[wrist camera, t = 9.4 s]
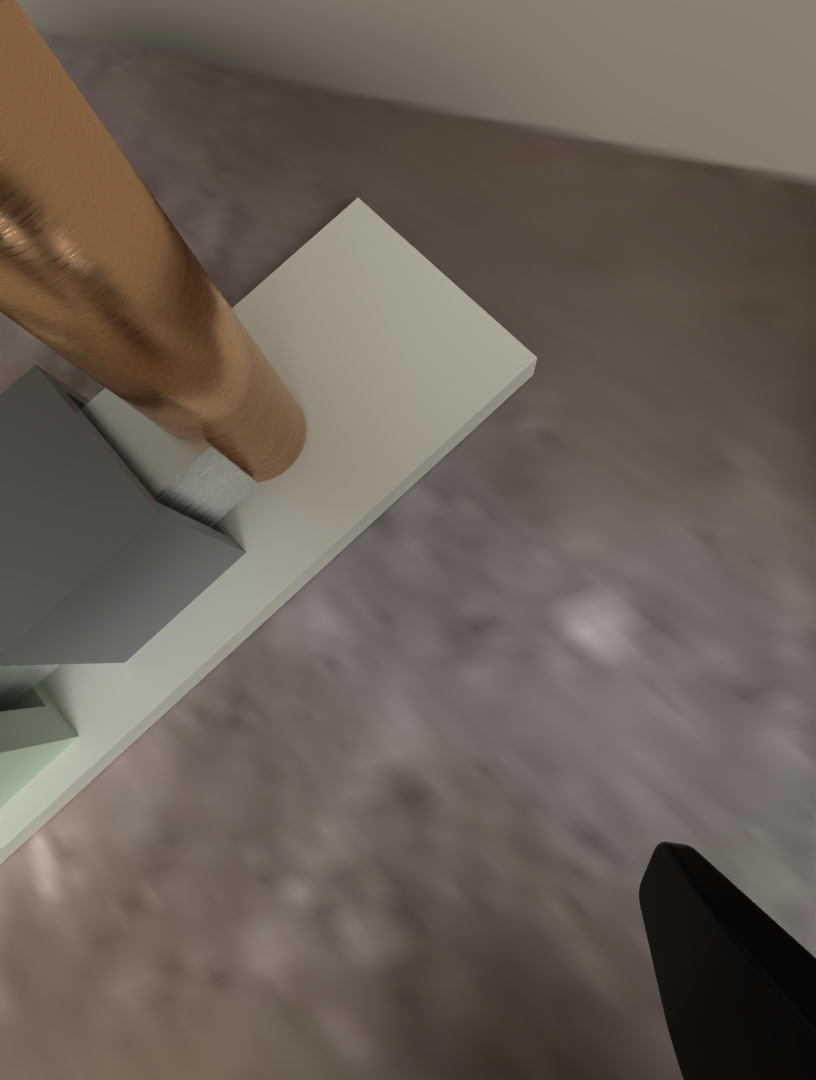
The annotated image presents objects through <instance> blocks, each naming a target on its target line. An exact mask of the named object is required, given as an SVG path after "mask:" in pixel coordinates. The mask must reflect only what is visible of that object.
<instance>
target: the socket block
mask: <svg viewBox="0 0 816 1080" xmlns="http://www.w3.org/2000/svg"><path fill="white" fill-rule="evenodd" d="M78 737H79V736H78V734H77V733H76V731H75V730H74V729H73V727H72V726H71V724H70V723H69V721H68V720H67V719H66V717H65V716H64V714H63V713H62V711H61V710H60V709H59V707H58V706H57V704H56V703H55V701H54V700H53V699H52V697H51V696H50V694H49V693H48V692H47V690H46V689H45V687H44V686H43V684H42V683H41V682H39V683H38V684H37V685H36V686H35V687H33V688H32V689H31V690H30V691H29V692H28V693H27V694H26V695H25V696H23V697H22V698H21V699H20V700H19V701H18V702H17V703H16V704H15V705H13V706H12V707H11V708H10V709H9V710H8V711H1V712H0V808H2V807H3V806H4V805H5V804H6V803H7V802H8V801H9V800H10V799H11V798H12V797H14V796H15V795H16V794H17V793H18V792H19V791H20V790H21V789H22V788H23V787H25V786H26V785H27V784H28V783H29V782H30V781H31V780H32V779H33V778H34V777H35V776H37V775H38V774H39V773H40V772H41V771H42V770H43V769H44V768H45V767H46V766H48V765H49V764H50V763H51V762H52V761H53V760H54V759H55V758H56V757H57V756H58V755H60V754H61V753H62V752H63V751H64V750H65V749H66V748H67V747H68V746H69V745H71V744H72V743H73V742H74V741H75V740H76V739H77V738H78Z"/></svg>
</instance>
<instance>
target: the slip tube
mask: <svg viewBox="0 0 816 1080" xmlns="http://www.w3.org/2000/svg"><path fill="white" fill-rule="evenodd" d="M0 312H2V313H3V314H4V315H6V316H7V317H9V318H10V319H11V320H13V321H14V322H15V323H17V324H18V325H20V326H21V327H22V328H24V329H25V330H27V331H28V332H29V333H31V334H32V335H33V336H35V337H36V338H38V339H39V340H40V341H42V342H43V343H44V344H46V345H47V346H49V347H50V348H51V349H53V350H54V351H56V352H57V353H58V354H60V355H61V356H62V357H64V358H65V359H67V360H68V361H69V362H71V363H72V364H74V365H75V366H76V367H78V368H79V369H80V370H82V371H83V372H85V373H86V374H87V375H89V376H90V377H91V378H93V379H94V380H96V381H97V382H98V383H100V384H101V385H103V386H104V387H105V388H104V389H103V390H102V391H101V392H100V393H99V394H97V395H96V396H95V397H94V398H93V399H92V400H91V401H89V402H88V403H87V404H86V405H85V406H84V407H83V408H81V409H80V410H81V411H82V412H83V414H84V415H85V416H86V417H87V418H88V420H89V421H90V422H91V423H92V424H93V426H94V427H95V428H96V429H97V430H98V432H99V433H100V434H101V435H102V436H103V438H104V439H105V440H106V441H107V442H108V444H109V445H110V446H111V447H112V448H113V450H114V451H115V452H116V453H117V454H118V456H119V457H120V458H121V459H122V460H123V462H124V463H125V464H126V465H127V466H128V468H129V469H130V470H131V471H132V472H133V474H134V475H135V476H136V477H137V479H138V480H139V481H140V482H141V483H142V485H143V486H144V487H145V488H146V489H147V491H148V492H149V493H150V494H151V495H152V497H153V498H154V499H155V500H156V501H157V502H158V503H160V504H162V505H164V506H166V507H168V508H170V509H172V510H175V511H177V512H179V513H181V514H183V515H185V516H187V517H189V518H191V519H193V520H195V521H197V522H200V523H202V524H204V525H206V526H208V527H210V528H211V527H212V526H213V525H214V524H215V523H216V522H217V521H218V520H219V519H221V518H222V517H223V516H224V515H225V514H226V513H227V512H228V511H229V510H231V509H232V508H233V507H234V506H235V505H236V504H237V503H238V502H239V501H241V500H242V499H243V498H244V497H245V496H246V495H247V494H248V493H249V492H250V491H252V490H253V489H254V488H255V487H256V486H257V485H258V484H259V483H258V482H263V481H267V480H270V479H273V478H275V477H277V476H279V475H280V474H282V473H283V472H285V471H286V470H287V469H288V468H289V467H290V466H291V465H292V464H293V463H294V462H295V461H296V459H297V458H298V456H299V455H300V453H301V451H302V449H303V446H304V443H305V439H306V420H305V416H304V413H303V411H302V409H301V407H300V405H299V404H298V402H297V401H296V399H295V398H294V397H293V395H292V394H291V392H290V391H289V389H288V388H287V387H286V385H285V384H284V382H283V381H282V379H281V378H280V377H279V375H278V374H277V372H276V371H275V369H274V368H273V367H272V365H271V364H270V362H269V361H268V359H267V358H266V357H265V355H264V354H263V352H262V351H261V349H260V348H259V347H258V345H257V344H256V342H255V341H254V340H253V338H252V337H251V335H250V334H249V332H248V331H247V330H246V328H245V327H244V325H243V324H242V322H241V321H240V320H239V318H238V317H237V315H236V314H235V312H234V311H233V310H232V308H231V307H230V305H229V304H228V302H227V301H226V300H225V298H224V297H223V295H222V294H221V292H220V291H219V290H218V288H217V287H216V285H215V284H214V282H213V281H212V280H211V278H210V277H209V275H208V274H207V272H206V271H205V270H204V268H203V267H202V265H201V264H200V262H199V261H198V260H197V258H196V257H195V255H194V254H193V252H192V251H191V250H190V248H189V247H188V245H187V244H186V243H185V241H184V240H183V238H182V237H181V235H180V234H179V233H178V231H177V230H176V228H175V227H174V225H173V224H172V223H171V221H170V220H169V218H168V217H167V215H166V214H165V213H164V211H163V210H162V208H161V207H160V205H159V204H158V203H157V201H156V200H155V198H154V197H153V195H152V194H151V193H150V191H149V190H148V188H147V187H146V185H145V184H144V183H143V181H142V180H141V178H140V177H139V175H138V174H137V173H136V171H135V170H134V168H133V167H132V165H131V164H130V163H129V161H128V160H127V158H126V157H125V156H124V154H123V153H122V151H121V150H120V148H119V147H118V146H117V144H116V143H115V141H114V140H113V138H112V137H111V136H110V134H109V133H108V131H107V130H106V128H105V127H104V126H103V124H102V123H101V121H100V120H99V118H98V117H97V116H96V114H95V113H94V111H93V110H92V108H91V107H90V106H89V104H88V103H87V101H86V100H85V98H84V97H83V96H82V94H81V93H80V91H79V90H78V88H77V87H76V86H75V84H74V83H73V81H72V80H71V78H70V77H69V76H68V74H67V73H66V71H65V70H64V68H63V67H62V66H61V64H60V63H59V61H58V60H57V59H56V57H55V56H54V54H53V53H52V51H51V50H50V49H49V47H48V46H47V44H46V43H45V41H44V40H43V39H42V37H41V36H40V34H39V33H38V31H37V30H36V29H35V27H34V26H33V24H32V23H31V21H30V20H29V19H28V17H27V16H26V14H25V13H24V12H23V10H22V9H21V7H20V6H19V4H18V3H17V1H16V0H0ZM58 665H59V664H53V665H10V666H0V712H1V711H8V710H9V709H10V708H11V707H12V706H13V705H15V704H16V703H17V702H18V701H19V700H20V699H21V698H22V697H23V696H25V695H26V694H27V693H28V692H29V691H30V690H31V689H32V688H33V687H35V686H36V685H37V684H38V683H39V682H40V681H41V680H42V679H43V678H45V677H46V676H47V675H48V674H49V673H50V672H51V671H52V670H53V669H54V668H56V667H57V666H58Z"/></svg>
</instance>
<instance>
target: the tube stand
mask: <svg viewBox="0 0 816 1080" xmlns="http://www.w3.org/2000/svg"><path fill="white" fill-rule="evenodd" d="M232 310H233V311H234V312H235V314H236V315H237V317H238V318H239V320H240V321H241V322H242V324H243V325H244V327H245V328H246V330H247V331H248V332H249V334H250V335H251V337H252V338H253V340H254V341H255V342H256V344H257V345H258V347H259V348H260V349H261V351H262V352H263V354H264V355H265V357H266V358H267V359H268V361H269V362H270V364H271V365H272V367H273V368H274V369H275V371H276V372H277V374H278V375H279V377H280V378H281V379H282V381H283V382H284V384H285V385H286V387H287V388H288V389H289V391H290V392H291V394H292V395H293V397H294V398H295V399H296V401H297V402H298V404H299V405H300V407H301V409H302V411H303V413H304V416H305V420H306V439H305V443H304V446H303V449H302V451H301V453H300V455H299V456H298V458H297V459H296V461H295V462H294V463H293V464H292V465H291V466H290V467H289V468H288V469H287V470H286V471H285V472H283V473H282V474H280V475H279V476H277V477H275V478H273V479H270V480H267V481H263V482H258V483H259V484H258V485H257V486H256V487H255V488H254V489H253V490H252V491H250V492H249V493H248V494H247V495H246V496H245V497H244V498H243V499H242V500H241V501H239V502H238V503H237V504H236V505H235V506H234V507H233V508H232V509H231V510H229V511H228V512H227V513H226V514H225V515H224V516H223V517H222V518H221V519H219V520H218V521H217V522H216V523H215V524H214V525H213V526H212V527H211V528H210V527H208V526H206V525H204V524H202V523H200V522H197V521H195V520H193V519H191V518H189V517H187V516H185V515H183V514H181V513H179V512H177V511H175V510H172V509H170V508H168V507H166V506H164V505H162V504H160V503H158V502H157V501H156V500H155V499H154V498H153V497H152V495H151V494H150V493H149V492H148V491H147V489H146V488H145V487H144V486H143V485H142V483H141V482H140V481H139V480H138V479H137V477H136V476H135V475H134V474H133V472H132V471H131V470H130V469H129V468H128V466H127V465H126V464H125V463H124V462H123V460H122V459H121V458H120V457H119V456H118V454H117V453H116V452H115V451H114V450H113V448H112V447H111V446H110V445H109V444H108V442H107V441H106V440H105V439H104V438H103V436H102V435H101V434H100V433H99V432H98V430H97V429H96V428H95V427H94V426H93V424H92V423H91V422H90V421H89V420H88V418H87V417H86V416H85V415H84V414H83V412H82V411H81V410H80V409H81V408H83V407H84V406H85V405H86V404H87V403H88V402H89V400H88V399H86V398H85V397H83V396H82V395H80V394H79V393H77V392H76V391H74V390H73V389H71V388H70V387H68V386H67V385H65V384H64V383H62V382H61V381H59V380H58V379H56V378H55V377H53V376H52V375H50V374H48V373H47V372H45V371H44V370H42V369H41V368H39V367H38V366H36V365H35V366H34V367H33V368H32V369H30V370H29V371H28V372H27V373H26V374H25V375H24V376H22V377H21V378H20V379H19V380H18V381H17V382H15V383H14V384H13V385H12V386H11V387H10V388H9V389H7V390H6V391H5V392H4V393H3V394H2V395H0V666H10V665H53V664H59V665H58V666H57V667H56V668H54V669H53V670H52V671H51V672H50V673H49V674H48V675H47V676H46V677H45V678H43V679H42V680H41V681H40V682H41V683H42V684H43V686H44V687H45V689H46V690H47V692H48V693H49V694H50V696H51V697H52V699H53V700H54V701H55V703H56V704H57V706H58V707H59V709H60V710H61V711H62V713H63V714H64V716H65V717H66V719H67V720H68V721H69V723H70V724H71V726H72V727H73V729H74V730H75V731H76V733H77V734H78V736H79V737H78V738H77V739H76V740H75V741H74V742H73V743H72V744H71V745H69V746H68V747H67V748H66V749H65V750H64V751H63V752H62V753H61V754H60V755H58V756H57V757H56V758H55V759H54V760H53V761H52V762H51V763H50V764H49V765H48V766H46V767H45V768H44V769H43V770H42V771H41V772H40V773H39V774H38V775H37V776H35V777H34V778H33V779H32V780H31V781H30V782H29V783H28V784H27V785H26V786H25V787H23V788H22V789H21V790H20V791H19V792H18V793H17V794H16V795H15V796H14V797H12V798H11V799H10V800H9V801H8V802H7V803H6V804H5V805H4V806H3V807H2V808H0V865H1V864H2V863H3V862H4V861H5V860H6V859H7V858H8V857H9V856H11V855H12V854H13V853H14V852H15V851H16V850H17V849H18V848H19V847H20V846H21V845H23V844H24V843H25V842H26V841H27V840H28V839H29V838H30V837H31V836H32V835H33V834H34V833H36V832H37V831H38V830H39V829H40V828H41V827H42V826H43V825H44V824H45V823H46V822H48V821H49V820H50V819H51V818H52V817H53V816H54V815H55V814H56V813H57V812H58V811H60V810H61V809H62V808H63V807H64V806H65V805H66V804H67V803H68V802H69V801H70V800H71V799H73V798H74V797H75V796H76V795H77V794H78V793H79V792H80V791H81V790H82V789H83V788H85V787H86V786H87V785H88V784H89V783H90V782H91V781H92V780H93V779H94V778H95V777H96V776H98V775H99V774H100V773H101V772H102V771H103V770H104V769H105V768H106V767H107V766H108V765H110V764H111V763H112V762H113V761H114V760H115V759H116V758H117V757H118V756H119V755H120V754H122V753H123V752H124V751H125V750H126V749H127V748H128V747H129V746H130V745H131V744H132V743H133V742H135V741H136V740H137V739H138V738H139V737H140V736H141V735H142V734H143V733H144V732H145V731H147V730H148V729H149V728H150V727H151V726H152V725H153V724H154V723H155V722H156V721H157V720H158V719H160V718H161V717H162V716H163V715H164V714H165V713H166V712H167V711H168V710H169V709H170V708H172V707H173V706H174V705H175V704H176V703H177V702H178V701H179V700H180V699H181V698H182V697H184V696H185V695H186V694H187V693H188V692H189V691H190V690H191V689H192V688H193V687H194V686H195V685H197V684H198V683H199V682H200V681H201V680H202V679H203V678H204V677H205V676H206V675H207V674H209V673H210V672H211V671H212V670H213V669H214V668H215V667H216V666H217V665H218V664H219V663H220V662H222V661H223V660H224V659H225V658H226V657H227V656H228V655H229V654H230V653H231V652H232V651H234V650H235V649H236V648H237V647H238V646H239V645H240V644H241V643H242V642H243V641H244V640H246V639H247V638H248V637H249V636H250V635H251V634H252V633H253V632H254V631H255V630H256V629H257V628H259V627H260V626H261V625H262V624H263V623H264V622H265V621H266V620H267V619H268V618H269V617H271V616H272V615H273V614H274V613H275V612H276V611H277V610H278V609H279V608H280V607H281V606H282V605H284V604H285V603H286V602H287V601H288V600H289V599H290V598H291V597H292V596H293V595H294V594H296V593H297V592H298V591H299V590H300V589H301V588H302V587H303V586H304V585H305V584H306V583H308V582H309V581H310V580H311V579H312V578H313V577H314V576H315V575H316V574H317V573H318V572H319V571H321V570H322V569H323V568H324V567H325V566H326V565H327V564H328V563H329V562H330V561H331V560H333V559H334V558H335V557H336V556H337V555H338V554H339V553H340V552H341V551H342V550H343V549H344V548H346V547H347V546H348V545H349V544H350V543H351V542H352V541H353V540H354V539H355V538H356V537H358V536H359V535H360V534H361V533H362V532H363V531H364V530H365V529H366V528H367V527H368V526H370V525H371V524H372V523H373V522H374V521H375V520H376V519H377V518H378V517H379V516H380V515H381V514H383V513H384V512H385V511H386V510H387V509H388V508H389V507H390V506H391V505H392V504H393V503H395V502H396V501H397V500H398V499H399V498H400V497H401V496H402V495H403V494H404V493H405V492H406V491H408V490H409V489H410V488H411V487H412V486H413V485H414V484H415V483H416V482H417V481H418V480H420V479H421V478H422V477H423V476H424V475H425V474H426V473H427V472H428V471H429V470H430V469H432V468H433V467H434V466H435V465H436V464H437V463H438V462H439V461H440V460H441V459H442V458H443V457H445V456H446V455H447V454H448V453H449V452H450V451H451V450H452V449H453V448H454V447H455V446H457V445H458V444H459V443H460V442H461V441H462V440H463V439H464V438H465V437H466V436H467V435H468V434H470V433H471V432H472V431H473V430H474V429H475V428H476V427H477V426H478V425H479V424H480V423H482V422H483V421H484V420H485V419H486V418H487V417H488V416H489V415H490V414H491V413H492V412H494V411H495V410H496V409H497V408H498V407H499V406H500V405H501V404H502V403H503V402H504V401H505V400H507V399H508V398H509V397H510V396H511V395H512V394H513V393H514V392H515V391H516V390H517V389H519V388H520V387H521V386H522V385H523V384H524V383H525V382H526V381H527V380H528V379H529V378H530V377H532V376H533V375H534V370H535V365H536V361H537V357H536V356H535V355H534V354H533V353H531V352H530V351H529V350H528V349H527V348H526V347H525V346H524V345H522V344H521V343H520V342H519V341H518V340H517V339H516V338H515V337H513V336H512V335H511V334H510V333H509V332H508V331H507V330H506V329H505V328H503V327H502V326H501V325H500V324H499V323H498V322H497V321H496V320H494V319H493V318H492V317H491V316H490V315H489V314H488V313H487V312H486V311H484V310H483V309H482V308H481V307H480V306H479V305H478V304H477V303H475V302H474V301H473V300H472V299H471V298H470V297H469V296H468V295H466V294H465V293H464V292H463V291H462V290H461V289H460V288H459V287H458V286H456V285H455V284H454V283H453V282H452V281H451V280H450V279H449V278H447V277H446V276H445V275H444V274H443V273H442V272H441V271H440V270H439V269H437V268H436V267H435V266H434V265H433V264H432V263H431V262H430V261H428V260H427V259H426V258H425V257H424V256H423V255H422V254H421V253H419V252H418V251H417V250H416V249H415V248H414V247H413V246H412V245H411V244H409V243H408V242H407V241H406V240H405V239H404V238H403V237H402V236H400V235H399V234H398V233H397V232H396V231H395V230H394V229H393V228H392V227H390V226H389V225H388V224H387V223H386V222H385V221H384V220H383V219H381V218H380V217H379V216H378V215H377V214H376V213H375V212H374V211H372V210H371V209H370V208H369V207H368V206H367V205H366V204H365V203H364V202H362V201H361V200H360V199H359V198H357V199H356V200H355V201H353V202H352V203H351V204H350V205H349V206H348V207H347V208H345V209H344V210H343V211H342V212H341V213H340V214H339V215H338V216H336V217H335V218H334V219H333V220H332V221H331V222H330V223H328V224H327V225H326V226H325V227H324V228H323V229H322V230H320V231H319V232H318V233H317V234H316V235H315V236H314V237H313V238H311V239H310V240H309V241H308V242H307V243H306V244H305V245H303V246H302V247H301V248H300V249H299V250H298V251H297V252H296V253H294V254H293V255H292V256H291V257H290V258H289V259H288V260H286V261H285V262H284V263H283V264H282V265H281V266H280V267H278V268H277V269H276V270H275V271H274V272H273V273H272V274H271V275H269V276H268V277H267V278H266V279H265V280H264V281H263V282H261V283H260V284H259V285H258V286H257V287H256V288H255V289H253V290H252V291H251V292H250V293H249V294H248V295H247V296H246V297H244V298H243V299H242V300H241V301H240V302H239V303H238V304H236V305H235V306H234V307H233V308H232Z"/></svg>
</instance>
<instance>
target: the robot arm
mask: <svg viewBox="0 0 816 1080" xmlns="http://www.w3.org/2000/svg"><path fill="white" fill-rule="evenodd" d="M639 901H640V907H641V911H642V916H643V920H644V925H645V929H646V934H647V938H648V943H649V947H650V952H651V956H652V961H653V965H654V970H655V974H656V979H657V983H658V988H659V992H660V997H661V1001H662V1006H663V1010H664V1014H665V1018H666V1022H667V1026H668V1030H669V1033H670V1037H671V1040H672V1044H673V1047H674V1050H675V1054H676V1057H677V1060H678V1063H679V1067H680V1070H681V1073H682V1076H683V1079H684V1080H816V958H815V957H814V956H813V955H811V954H810V953H809V952H808V951H807V950H806V949H805V948H804V947H803V946H801V945H800V944H799V943H798V942H797V941H796V940H795V939H794V938H793V937H792V936H790V935H789V934H788V933H787V932H786V931H785V930H784V929H783V928H782V927H780V926H779V925H778V924H777V923H776V922H775V921H774V920H773V919H772V918H770V917H769V916H768V915H767V914H766V913H765V912H764V911H763V910H762V909H760V908H759V907H758V906H757V905H756V904H755V903H754V902H753V901H752V900H751V899H749V898H748V897H747V896H746V895H745V894H744V893H743V892H742V891H741V890H739V889H738V888H737V887H736V886H735V885H734V884H733V883H732V882H731V881H729V880H728V879H727V878H726V877H725V876H724V875H723V874H722V873H721V872H719V871H718V870H717V869H716V868H715V867H714V866H713V865H712V864H711V863H710V862H708V861H707V860H706V859H705V858H704V857H703V856H702V855H701V854H700V853H698V852H697V851H696V850H695V849H694V848H692V847H691V846H688V845H685V844H678V843H671V842H661V843H659V844H658V845H657V846H656V848H655V850H654V852H653V855H652V857H651V859H650V862H649V864H648V866H647V869H646V871H645V874H644V876H643V878H642V881H641V884H640V889H639Z"/></svg>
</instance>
